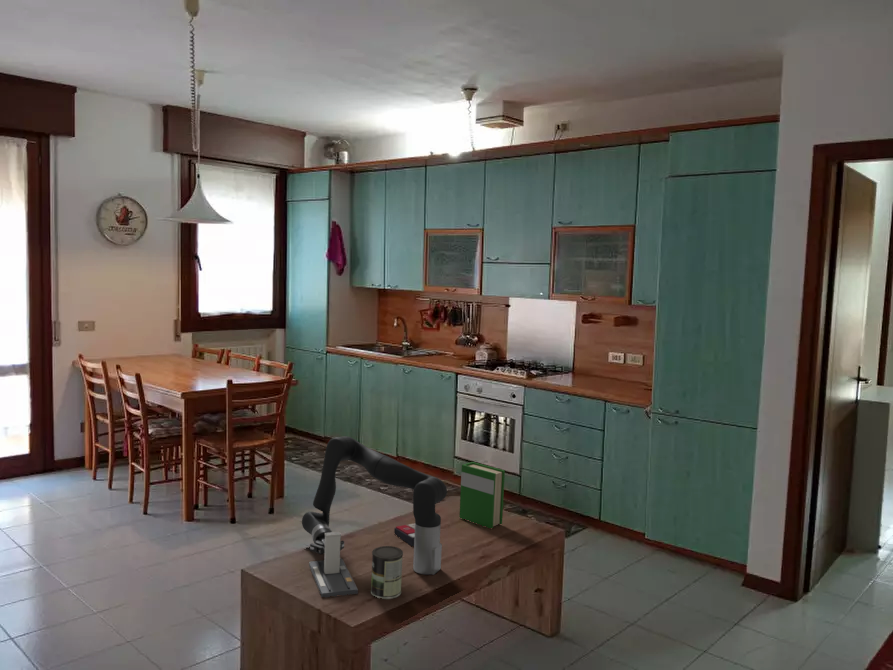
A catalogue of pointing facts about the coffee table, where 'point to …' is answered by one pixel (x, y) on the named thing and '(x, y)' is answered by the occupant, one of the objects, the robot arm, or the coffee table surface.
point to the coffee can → (386, 572)
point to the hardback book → (482, 494)
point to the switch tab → (332, 553)
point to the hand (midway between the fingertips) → (331, 555)
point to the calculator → (406, 533)
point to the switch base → (333, 580)
